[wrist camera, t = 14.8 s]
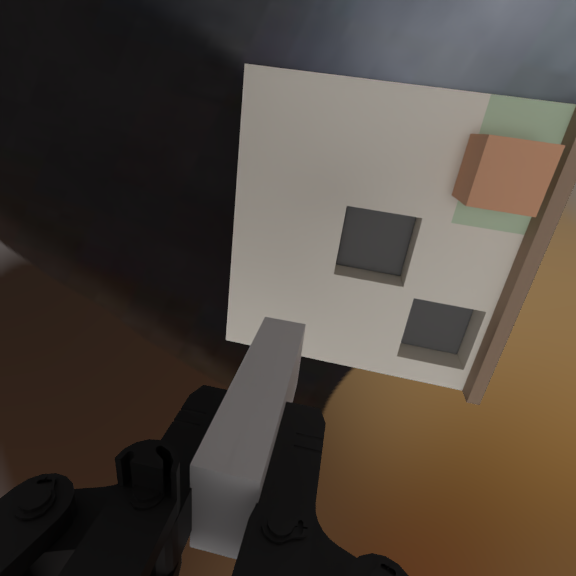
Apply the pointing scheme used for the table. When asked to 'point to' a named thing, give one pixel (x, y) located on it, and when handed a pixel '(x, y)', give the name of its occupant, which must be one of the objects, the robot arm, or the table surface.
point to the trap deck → (384, 223)
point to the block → (506, 173)
